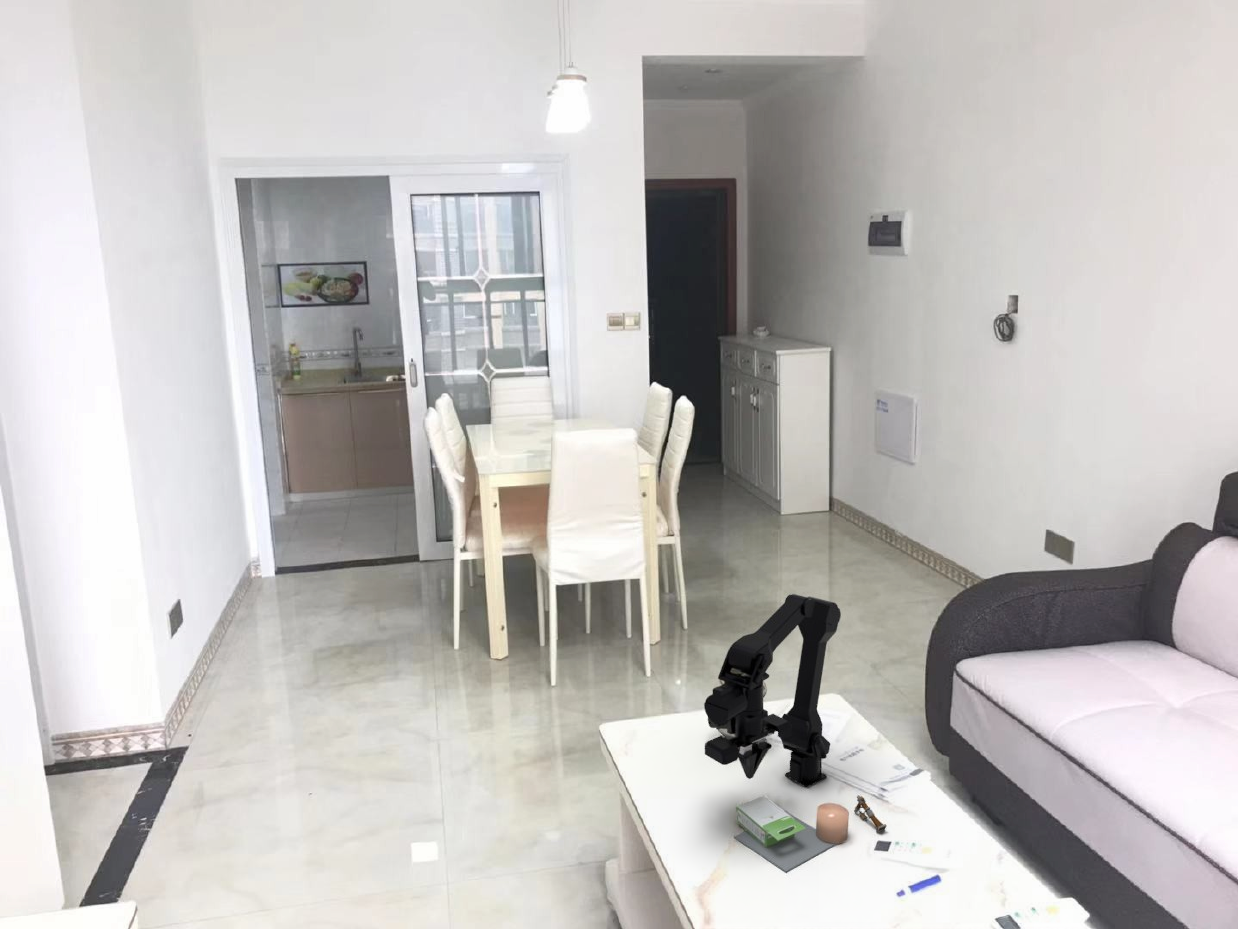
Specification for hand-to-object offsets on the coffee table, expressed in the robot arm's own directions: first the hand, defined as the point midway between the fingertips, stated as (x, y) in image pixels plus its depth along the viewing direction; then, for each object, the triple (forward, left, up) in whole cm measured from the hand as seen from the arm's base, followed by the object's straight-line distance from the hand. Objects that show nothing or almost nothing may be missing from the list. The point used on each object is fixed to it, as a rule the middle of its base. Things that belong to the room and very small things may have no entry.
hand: (749, 777), depth 193 cm
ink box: (0, 0, -7) cm, 7 cm away
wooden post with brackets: (-17, +16, -9) cm, 25 cm away
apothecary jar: (-19, -23, -9) cm, 31 cm away
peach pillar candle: (-8, +14, -9) cm, 19 cm away
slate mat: (0, +10, -9) cm, 13 cm away
